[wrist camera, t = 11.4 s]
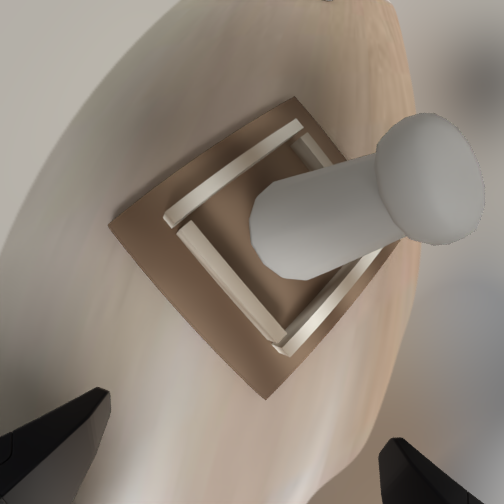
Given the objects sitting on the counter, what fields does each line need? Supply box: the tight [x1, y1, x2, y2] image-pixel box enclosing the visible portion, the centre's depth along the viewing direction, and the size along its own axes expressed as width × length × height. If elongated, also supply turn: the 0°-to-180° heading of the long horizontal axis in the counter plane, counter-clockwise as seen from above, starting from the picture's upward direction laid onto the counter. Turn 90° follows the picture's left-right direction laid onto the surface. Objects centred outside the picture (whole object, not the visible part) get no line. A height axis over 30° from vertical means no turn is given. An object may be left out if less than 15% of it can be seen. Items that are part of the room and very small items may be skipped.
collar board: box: [108, 96, 400, 400], centre depth 19 cm, size 16×14×2 cm
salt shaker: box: [249, 113, 485, 280], centre depth 14 cm, size 6×6×13 cm
